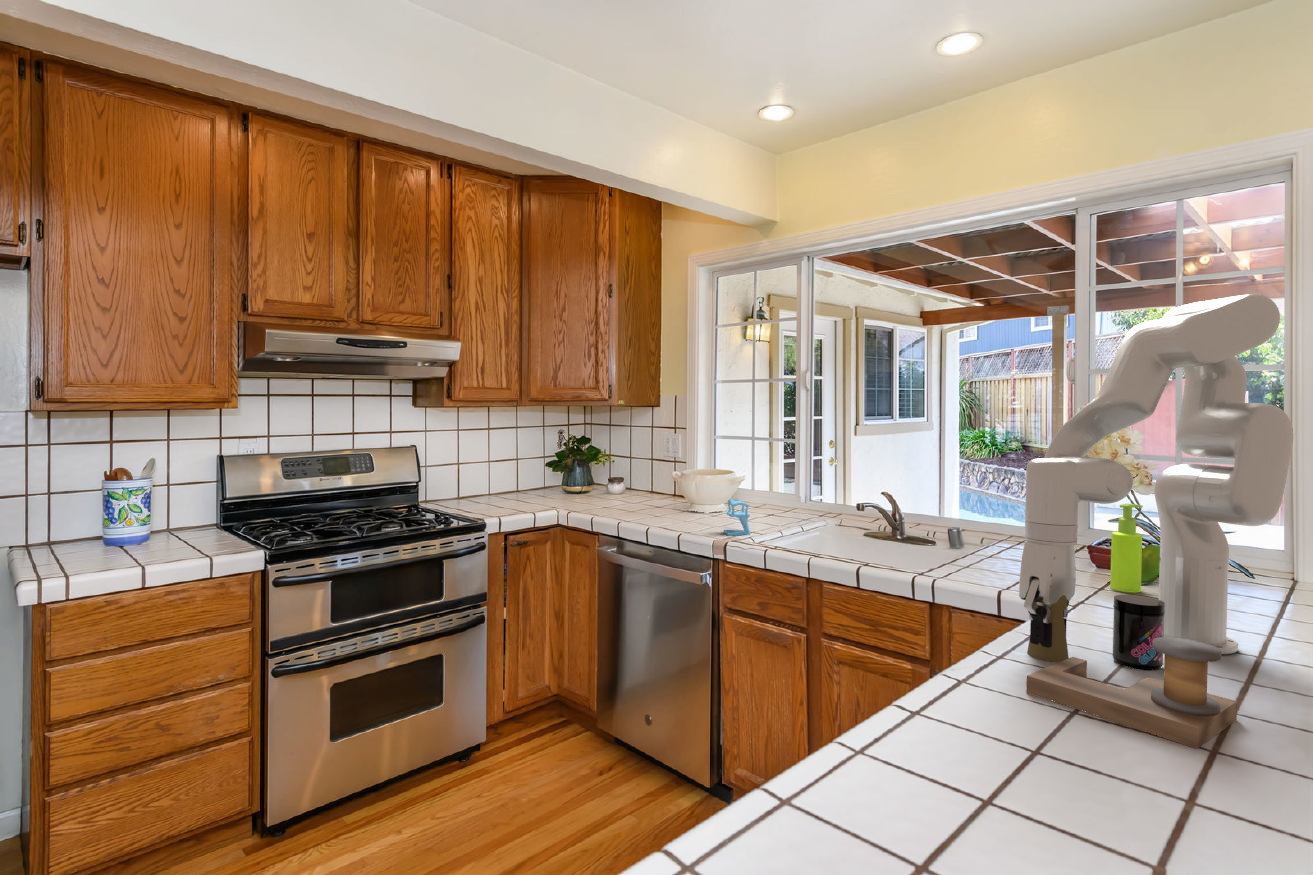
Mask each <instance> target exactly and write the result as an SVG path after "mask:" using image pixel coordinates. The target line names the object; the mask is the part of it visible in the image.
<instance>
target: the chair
mask: <svg viewBox="0 0 1313 875" xmlns="http://www.w3.org/2000/svg"><path fill="white" fill-rule="evenodd" d="M740 505H741V511H737V512H735V507H737V506H740ZM727 506H728V511H726V515H727V516H729V517H730V518H736V519H737V518H738V520H739V521H740V524H741V525H742V528H743V529H723V533H724V534H725V535H727V536H728V537H732V536H734V537H735V536H749V535H751V530H750V526H749V522H748V520H749V518H750V517H751V515H750V514H749V512H748V510H749V506H750V504H749V503H746V502H743V500H739V499H737V498H736V499H735V498H734V499H732V498H730V499H729V500H728V501H727ZM745 507H746V508H745Z"/></svg>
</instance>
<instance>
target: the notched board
mask: <svg viewBox="0 0 1313 875" xmlns="http://www.w3.org/2000/svg"><path fill="white" fill-rule="evenodd" d="M1152 647H1153V648H1154V649H1155V650H1156V651H1158V652H1160V653H1163V655H1164V656H1163V666H1164V667H1163V671H1164V672H1163V680H1161V679H1157V678H1153V677H1149V676H1148V677H1146V678H1143V679H1141V680H1140V681H1137V682H1136V683H1133V684H1132V685H1130V686H1128V687H1126V688H1121V687H1117V686H1113V685H1111V684H1106V683H1103V682H1100V681H1097V680H1093V679H1091V678H1090V679H1089V678H1087V674H1088V672H1087V670H1088V667H1087V666H1088V665H1087V664H1088V661H1087V659H1082V658H1079V657H1076V656H1071V657H1069V658H1068V659H1066V660H1063V661H1061V662H1055V663H1054V664H1051V665H1049V666H1047V667H1044V668H1042V669H1041V668H1040V670H1036V671H1034V672H1032V673H1029V674H1027V675H1026V685H1025V686H1026V690H1025V693H1026V694H1029V695H1032V696H1035V697H1038V696H1039V698H1041V697H1042V698H1041V699H1044V698H1045V699H1044V700H1048V701H1050V700H1053V701H1055V702H1054V703H1056V702H1057V703H1056V704H1059V703H1061V704H1060V705H1062V704H1063V705H1062V706H1065V705H1068V706H1071V707H1073V708H1072V709H1074V708H1075V709H1074V710H1077V709H1078V711H1080V710H1083V711H1086V712H1085V713H1087V712H1088V713H1087V714H1090V713H1091V714H1090V715H1093V714H1095V715H1094V716H1096V715H1098V716H1097V717H1099V716H1100V717H1099V718H1102V717H1103V718H1102V719H1104V720H1109V721H1111V722H1114V723H1117V724H1120V723H1121V724H1120V725H1124V726H1127V727H1129V728H1133V729H1135V730H1139V731H1142V732H1144V733H1147V732H1149V733H1148V734H1150V733H1151V735H1154V736H1156V735H1157V737H1160V738H1162V737H1163V738H1162V739H1166V740H1169V741H1171V742H1174V743H1178V744H1181V745H1184V746H1186V747H1191V748H1192V749H1195V750H1197V749H1199V748H1201V747H1202V746H1203V745H1205V744H1206V743H1207V742H1209V741H1211V739H1213V738H1214V737H1216V736H1217V735H1218V734H1220V733H1221V732H1223V731H1224V730H1225V729H1227V728H1228V727H1230V725H1232V724H1233V723H1235V722H1236V721H1237V719H1238V718H1237V717H1238V716H1237V715H1238V713H1237V711H1238V701H1237V700H1235V699H1231V698H1230V699H1229V698H1226V697H1224V696H1223V697H1222V696H1219V695H1214V694H1212V693H1209V692H1208V671H1209V670H1208V668H1209V663H1210V662H1211V663H1213V662H1219V661H1221V660H1222V655H1223V654H1222V652H1221V650H1220V649H1218V648H1216V647H1214V646H1212V645H1209V644H1205V643H1202V642H1198V641H1193V640H1188V639H1181V638H1171V637H1160V638H1155V639H1153V646H1152ZM1053 701H1052V702H1053ZM1068 706H1067V707H1068ZM1071 707H1070V708H1071ZM1083 711H1082V712H1083Z"/></svg>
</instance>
